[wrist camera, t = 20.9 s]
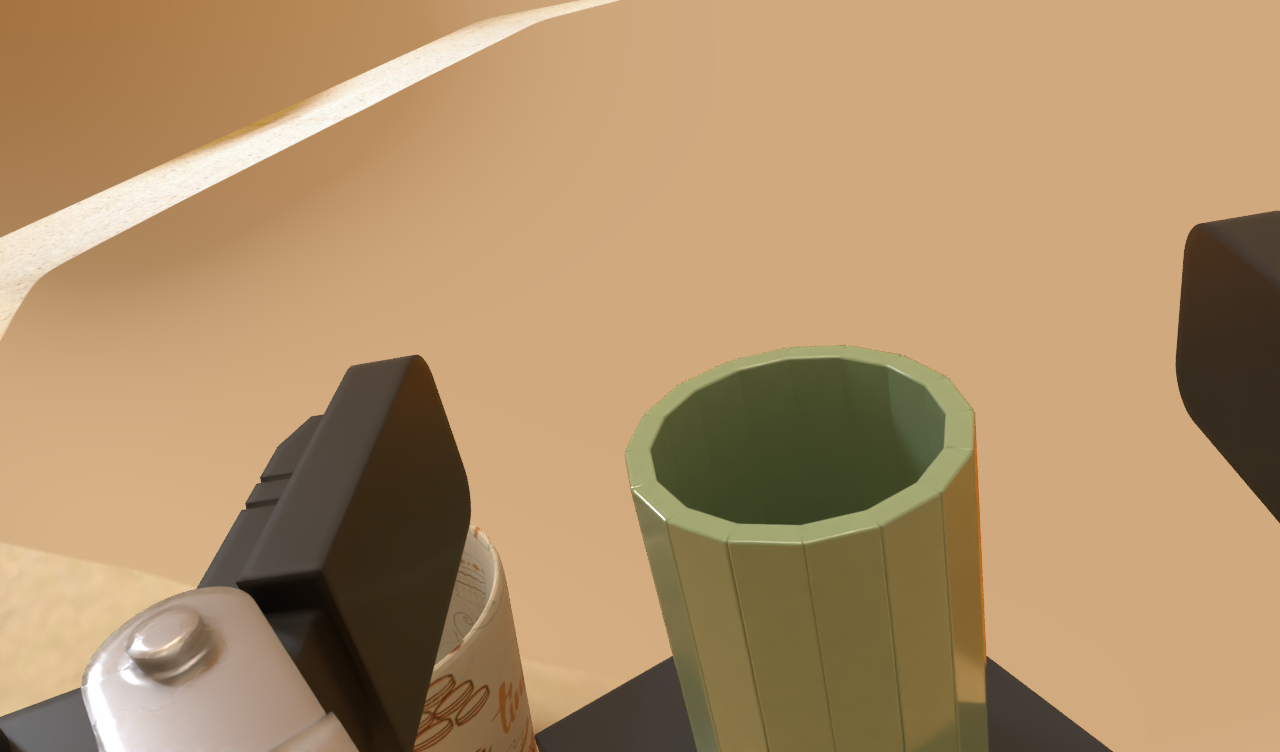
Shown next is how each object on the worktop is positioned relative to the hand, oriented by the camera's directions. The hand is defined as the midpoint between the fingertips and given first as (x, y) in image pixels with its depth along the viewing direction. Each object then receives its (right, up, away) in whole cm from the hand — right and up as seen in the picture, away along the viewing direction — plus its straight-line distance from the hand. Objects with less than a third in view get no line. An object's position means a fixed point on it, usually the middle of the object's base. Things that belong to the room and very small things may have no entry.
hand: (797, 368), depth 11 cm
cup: (+3, -10, +12) cm, 16 cm away
